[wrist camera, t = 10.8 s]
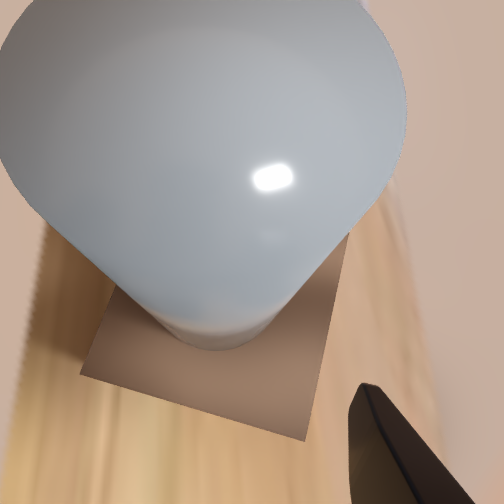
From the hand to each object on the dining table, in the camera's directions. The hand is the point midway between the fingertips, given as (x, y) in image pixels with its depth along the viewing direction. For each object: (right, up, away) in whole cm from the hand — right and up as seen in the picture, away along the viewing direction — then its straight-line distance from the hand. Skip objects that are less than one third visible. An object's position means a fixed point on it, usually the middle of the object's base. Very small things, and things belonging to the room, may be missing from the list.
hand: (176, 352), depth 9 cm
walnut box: (0, -1, +12) cm, 12 cm away
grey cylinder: (0, +1, +9) cm, 9 cm away
